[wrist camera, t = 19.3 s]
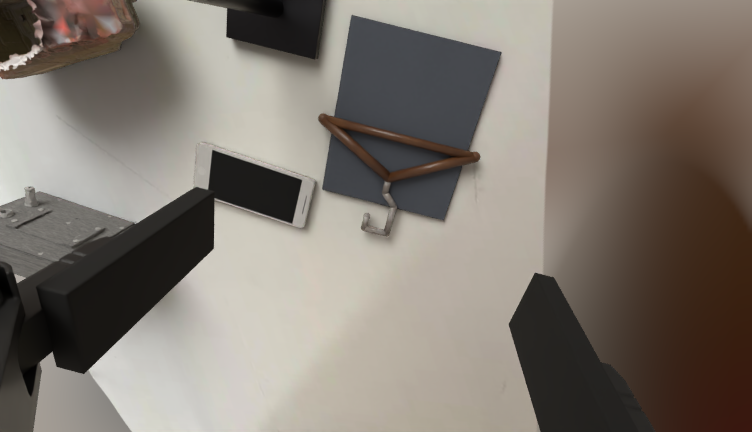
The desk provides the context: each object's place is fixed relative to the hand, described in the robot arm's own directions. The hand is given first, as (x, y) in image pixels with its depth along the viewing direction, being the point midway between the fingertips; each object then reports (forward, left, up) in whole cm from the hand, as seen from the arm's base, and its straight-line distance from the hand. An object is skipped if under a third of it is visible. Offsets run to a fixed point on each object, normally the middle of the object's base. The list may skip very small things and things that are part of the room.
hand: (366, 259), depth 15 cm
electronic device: (+40, +24, -31) cm, 56 cm away
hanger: (0, +1, -29) cm, 29 cm away
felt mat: (0, +1, -30) cm, 30 cm away
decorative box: (+38, -4, -31) cm, 49 cm away
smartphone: (+17, +13, -30) cm, 37 cm away
